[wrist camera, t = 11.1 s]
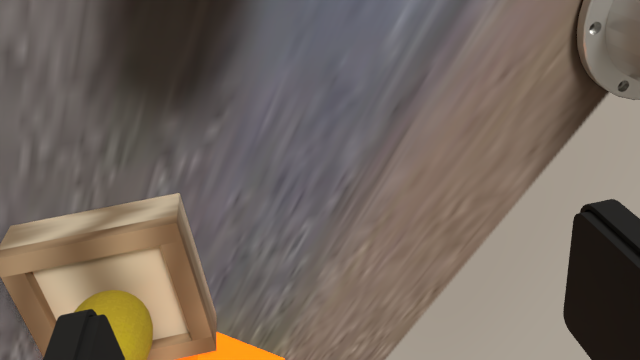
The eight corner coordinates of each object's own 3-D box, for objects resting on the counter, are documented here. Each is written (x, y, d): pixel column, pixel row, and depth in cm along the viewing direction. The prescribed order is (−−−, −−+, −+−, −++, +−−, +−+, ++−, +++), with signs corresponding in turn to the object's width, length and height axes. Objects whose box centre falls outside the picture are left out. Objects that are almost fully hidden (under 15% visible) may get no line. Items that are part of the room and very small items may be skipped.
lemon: (158, 268, 40) (147, 350, 33) (156, 327, 43) (146, 415, 36) (75, 266, 39) (46, 351, 32) (78, 327, 41) (51, 418, 35)
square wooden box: (179, 192, 41) (176, 222, 37) (216, 315, 47) (216, 350, 43) (10, 226, 40) (-9, 259, 37) (70, 346, 46) (58, 385, 43)
